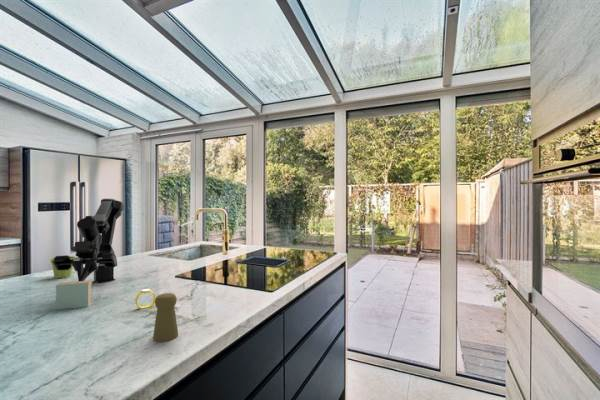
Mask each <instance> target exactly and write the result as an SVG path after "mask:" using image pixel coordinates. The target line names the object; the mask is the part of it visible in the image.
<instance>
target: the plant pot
mask: <svg viewBox="0 0 600 400" xmlns="http://www.w3.org/2000/svg"><path fill="white" fill-rule="evenodd" d="M68 256H69V258H70V259H73V258H74V257H75V256H74V255H73V256H72V255H68ZM54 258H55V257H52V258H50V259H49V261H50V264H51V265H52V271H53V276H54V277H53V278H55V279H61V278H62V279H66V278H70V277H71V276H72V273H73V266H71V268H70V269H69V270H57V269H56V267H55V265H54V263H53V260H54ZM65 277H66V278H65Z"/></svg>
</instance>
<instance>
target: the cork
mask: <svg viewBox="0 0 600 400" xmlns="http://www.w3.org/2000/svg"><path fill="white" fill-rule="evenodd" d="M177 298H178V297H177V295H175V293H171V292H165V293H161V294H158V295H157V296H156V299H155V303H154V306H155V307H156V315H155V321H154V329H153V335H152V339H153V341H154V342H160V343H162V342H163V343H164V342H169V341H172V340H174V339H177V338H178V336H179V331H178V323H177V315H176V309H175V306H176V304H177V301H178V299H177Z"/></svg>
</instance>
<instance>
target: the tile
mask: <svg viewBox="0 0 600 400" xmlns="http://www.w3.org/2000/svg"><path fill="white" fill-rule="evenodd" d="M91 305H92V280H84V281H62V282H59V283H57V284H55V310H66V308H68V309H78V308H88V307H90V306H91Z"/></svg>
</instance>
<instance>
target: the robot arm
mask: <svg viewBox="0 0 600 400" xmlns="http://www.w3.org/2000/svg"><path fill="white" fill-rule="evenodd" d="M124 207H125V206H124V203H123V202H122V201H119V200H117V199H114V198H101V200H100V205H99V207H98V209H97V211H96V212H95V214H94V215H86V216H85V217H84V218H81V219H80V220H78V221H77V222H76V227H77V229H78V231H79V234H80V236H81V237H82V238H83V240H82V241H75V242H74V248H73V252H75V256H74V258H73V259H70V258H69V256H70V255H67V254H65V255H56V256H54V257H53V258H54V260H53V263H54V265H55V267H56V269H57V270H69V269H70V268H71V266H73V267H72V269H73V270H74V271H75V272H76V273H77V279H78V281H86V279H87V278H88V277H90V275H92V273H93V281H94V282H96V283H97V284H100V283H107V282H112V281H115V280H116V278H114V276H115V275H114V274H115V273H114V272H115V271H114V268H115V267H118V259H117V256H116V254H115V251H114V248H113V245H112V244H113V239H114V234H115V228H116V224H117V223H116V222H117V220H118V219H119V218H120V217H121V216H122V212H123V211H124V209H125V208H124Z"/></svg>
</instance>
